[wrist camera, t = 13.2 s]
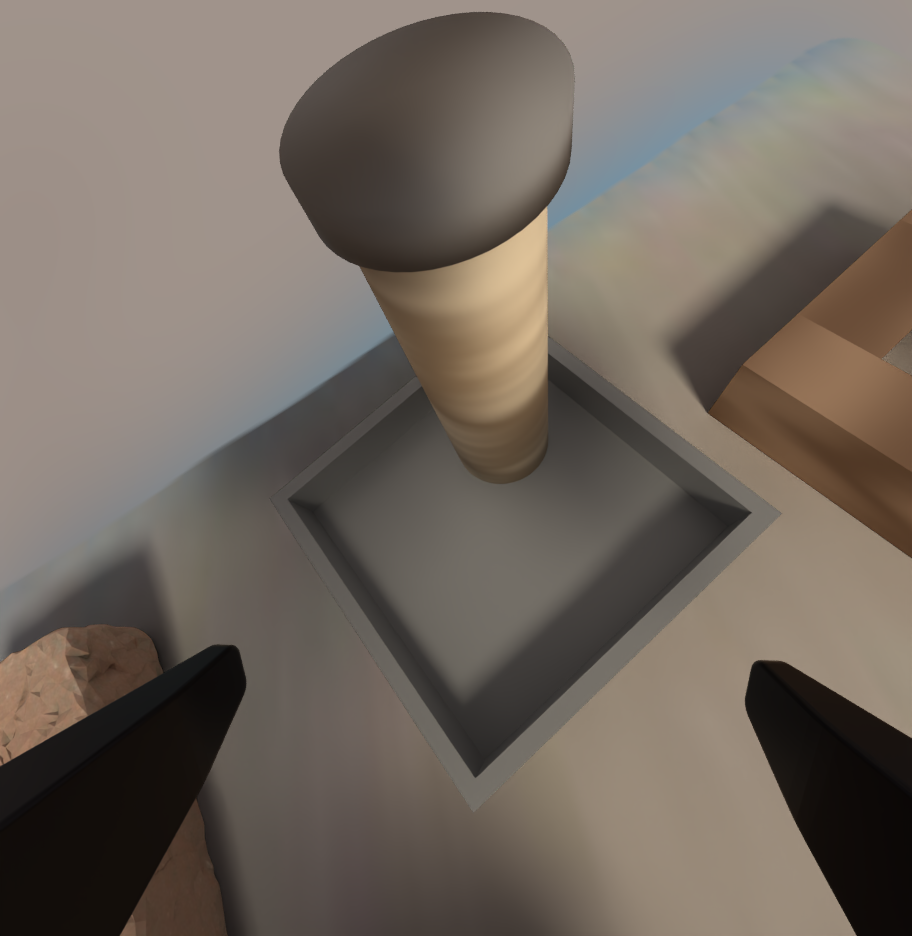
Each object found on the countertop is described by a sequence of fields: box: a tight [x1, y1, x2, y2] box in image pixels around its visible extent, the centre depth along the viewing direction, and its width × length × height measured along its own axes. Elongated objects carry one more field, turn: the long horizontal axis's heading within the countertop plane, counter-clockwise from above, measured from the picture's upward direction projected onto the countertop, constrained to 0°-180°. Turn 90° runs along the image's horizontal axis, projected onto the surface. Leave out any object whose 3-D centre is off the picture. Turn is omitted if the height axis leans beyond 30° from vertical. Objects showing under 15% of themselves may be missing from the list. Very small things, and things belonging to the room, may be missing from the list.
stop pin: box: [279, 12, 575, 484], centre depth 13 cm, size 5×5×13 cm
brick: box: [0, 624, 228, 936], centre depth 14 cm, size 17×8×5 cm, turn 32°
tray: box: [270, 336, 782, 813], centre depth 17 cm, size 13×13×2 cm
